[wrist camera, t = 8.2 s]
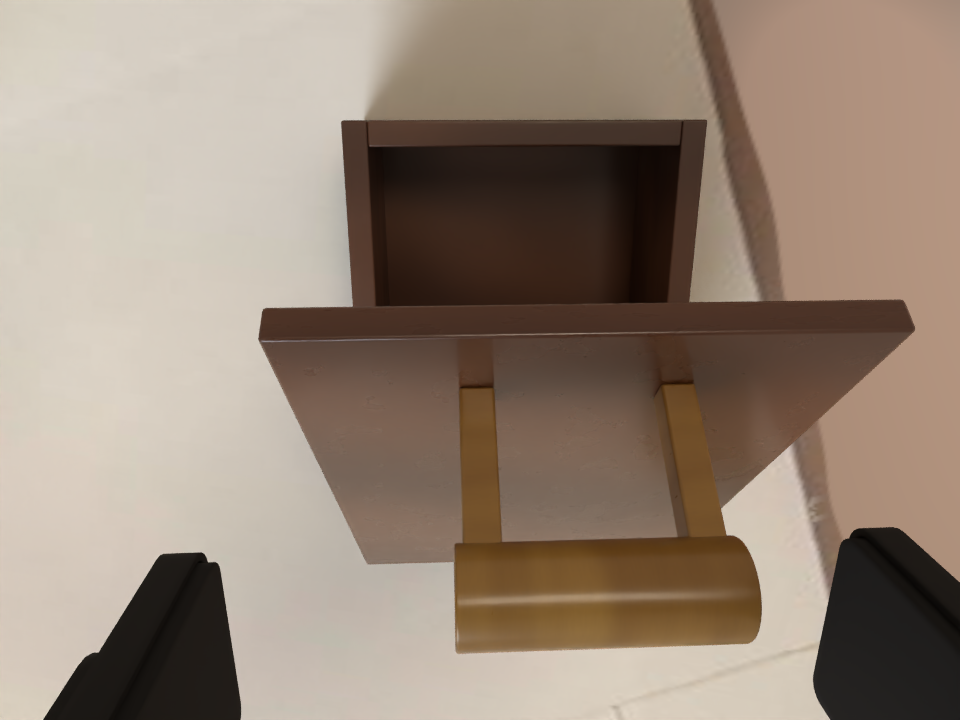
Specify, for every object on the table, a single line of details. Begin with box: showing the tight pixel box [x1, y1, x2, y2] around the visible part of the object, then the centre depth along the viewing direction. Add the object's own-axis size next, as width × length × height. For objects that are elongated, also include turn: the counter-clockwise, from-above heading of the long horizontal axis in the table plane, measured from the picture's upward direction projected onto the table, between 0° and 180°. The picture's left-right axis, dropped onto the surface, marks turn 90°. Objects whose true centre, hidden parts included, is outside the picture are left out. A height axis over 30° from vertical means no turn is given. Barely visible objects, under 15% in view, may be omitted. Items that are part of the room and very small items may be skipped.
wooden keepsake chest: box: [341, 120, 707, 307], centre depth 27 cm, size 16×12×6 cm
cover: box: [258, 300, 915, 654], centre depth 18 cm, size 16×12×6 cm
